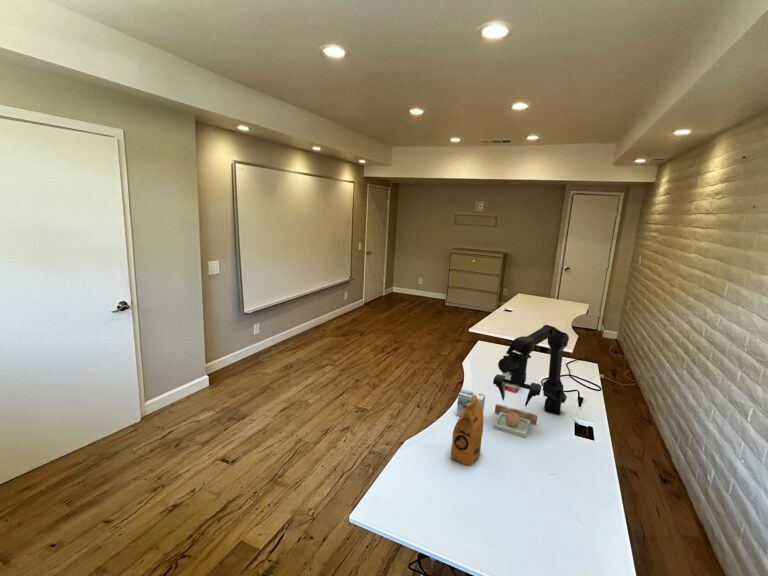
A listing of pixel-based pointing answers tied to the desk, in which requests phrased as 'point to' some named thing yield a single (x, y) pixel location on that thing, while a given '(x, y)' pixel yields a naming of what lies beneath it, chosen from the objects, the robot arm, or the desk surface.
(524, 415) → the oak rail
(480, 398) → the light bulb box
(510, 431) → the sage tray
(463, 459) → the coffee package
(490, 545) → the desk surface
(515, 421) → the ball
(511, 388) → the ink box
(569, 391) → the desk surface
